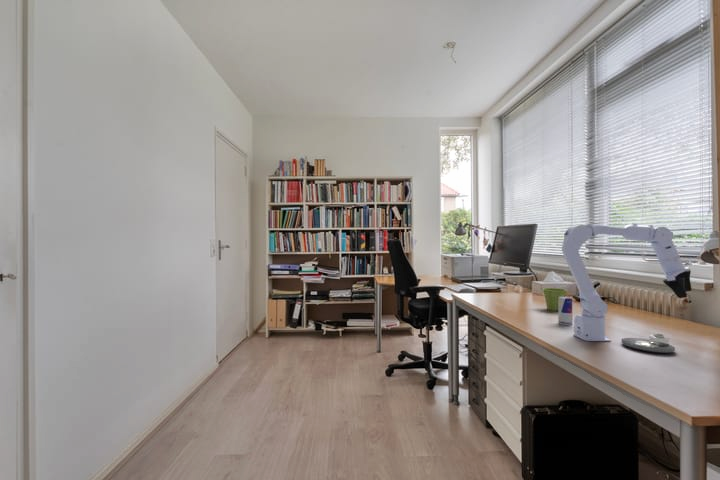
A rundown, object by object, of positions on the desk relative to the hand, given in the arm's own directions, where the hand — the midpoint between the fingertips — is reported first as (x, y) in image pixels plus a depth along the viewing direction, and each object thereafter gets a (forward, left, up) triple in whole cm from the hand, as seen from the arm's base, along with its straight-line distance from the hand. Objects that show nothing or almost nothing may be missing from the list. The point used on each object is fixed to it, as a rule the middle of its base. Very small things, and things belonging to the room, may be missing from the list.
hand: (685, 294), depth 116 cm
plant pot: (-13, +60, -19) cm, 65 cm away
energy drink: (-25, +29, -19) cm, 43 cm away
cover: (-12, -4, -17) cm, 21 cm away
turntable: (-16, -4, -18) cm, 25 cm away
